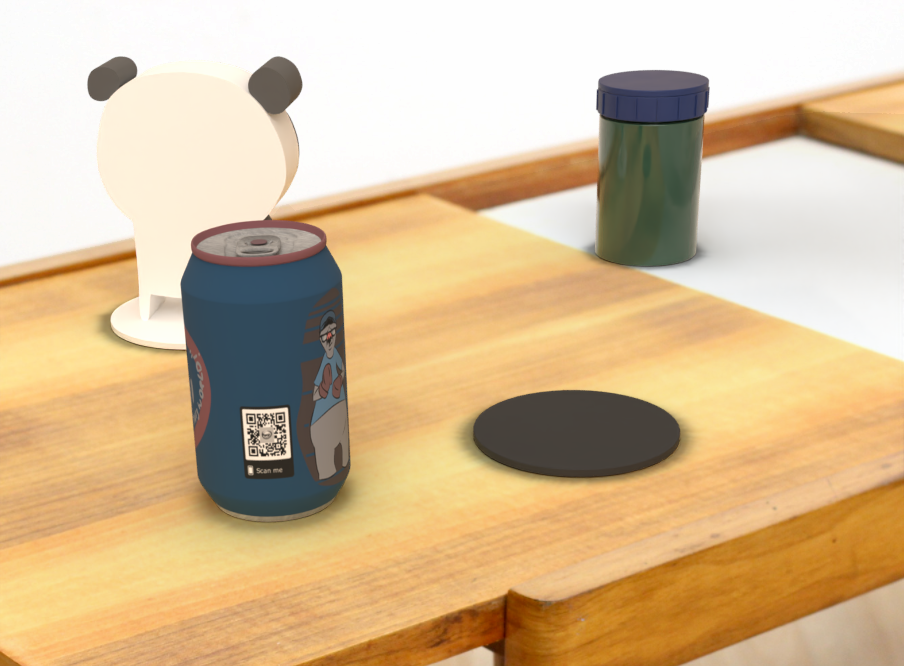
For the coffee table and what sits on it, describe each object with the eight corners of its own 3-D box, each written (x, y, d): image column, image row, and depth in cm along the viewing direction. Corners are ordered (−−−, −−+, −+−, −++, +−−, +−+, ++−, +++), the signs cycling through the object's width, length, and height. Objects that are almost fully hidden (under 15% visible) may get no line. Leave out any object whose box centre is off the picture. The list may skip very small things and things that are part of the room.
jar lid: (687, 96, 102) (689, 67, 101) (722, 118, 96) (724, 86, 95) (585, 103, 101) (585, 73, 100) (613, 125, 95) (614, 93, 94)
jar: (678, 234, 106) (687, 75, 101) (709, 262, 100) (720, 94, 95) (584, 241, 105) (588, 81, 100) (609, 269, 99) (616, 101, 95)
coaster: (646, 390, 81) (646, 382, 81) (707, 467, 72) (708, 459, 72) (456, 405, 80) (456, 398, 80) (495, 485, 71) (495, 477, 71)
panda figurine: (325, 290, 98) (314, 43, 91) (288, 352, 88) (272, 80, 81) (142, 287, 100) (117, 45, 93) (85, 347, 90) (53, 81, 83)
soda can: (207, 466, 74) (184, 218, 69) (352, 461, 74) (341, 212, 68) (192, 531, 68) (167, 264, 62) (351, 526, 68) (339, 258, 62)
